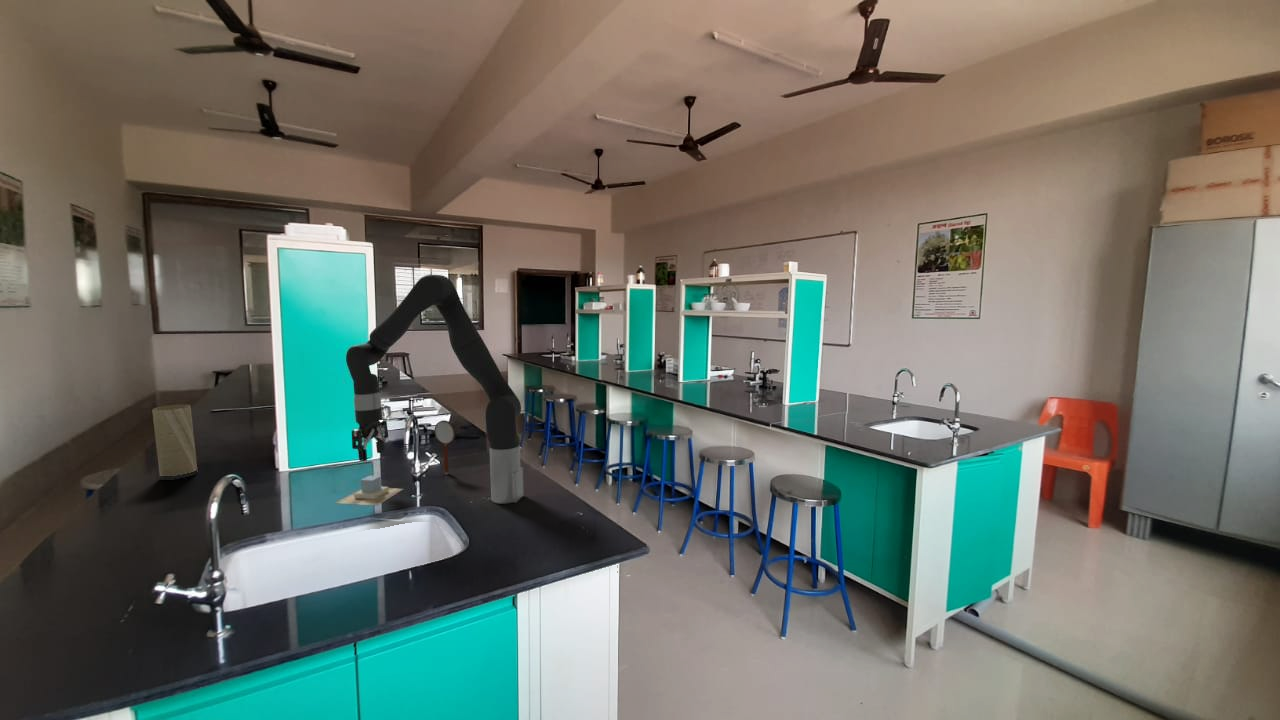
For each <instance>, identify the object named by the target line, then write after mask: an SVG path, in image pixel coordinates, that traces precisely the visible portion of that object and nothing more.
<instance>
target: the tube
mask: <svg viewBox="0 0 1280 720" xmlns="http://www.w3.org/2000/svg"><path fill="white" fill-rule="evenodd" d="M151 411H152V421H153V427H154V428H153V429H154V438H155V445H156V446H155V448H156V455H157V461H158V463H157V464H158V470H159V471H158V472H159V477H160V476H177V475H183V474H187V473H191V472H194V471H196V470H197V471H198V465H197V456H196V455H197V454H196V445H195V437H194V426H193V418H192V416H193V415H192V408H191V404H172V405H171V404H170V405H166V406H165V405H163V406H158V407H155V408H152V410H151Z"/></svg>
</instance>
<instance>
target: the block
mask: <svg viewBox="0 0 1280 720" xmlns="http://www.w3.org/2000/svg"><path fill="white" fill-rule="evenodd" d="M360 486H361V488H360V489H362V492H369V493H374V492H375V491H377V490H379V489H381V486H382V478H381V476H379V475H368V476H366V477H364V478H362V479H360Z"/></svg>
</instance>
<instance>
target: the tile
mask: <svg viewBox="0 0 1280 720" xmlns="http://www.w3.org/2000/svg"><path fill="white" fill-rule="evenodd" d="M389 488H390V487H389V486H383V485H381V489H379V490H377V491H375V492H374V493H369V492H362V490H360V489H359V490H360V491H358V490H357V491H358V492H356V491H355V492H356V493H355V492H353V493H354V498H358V499H374V500H375V499H376V498H378V497H380V496H381V495H383V494H385V493H387V492H388V491H389Z"/></svg>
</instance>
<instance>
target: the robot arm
mask: <svg viewBox="0 0 1280 720" xmlns="http://www.w3.org/2000/svg"><path fill="white" fill-rule="evenodd" d="M432 306H435V307H436V308H437V310H438V311H439V313H440V315H441V316H442V318H443V320H444V321H445V324H446V327H447V331H448V337H449V343H450V346H451V349H452V351H453V352H454V354H455V356H456V358H457V359H458V361H459V363H460V364H461V366H462V367H463V368H464V370H465V371H466V372H467V373H468V374H469V375H470V376H471V377H472V378H473V379H475V381H477V382H478V384H480V385H481V388H483V390H484V392H485V393H486V395H487V398H488V399H489V402H488V403H487V405H486V408H485V416H484V417H485V430H486V438H487V440H488V445H489V470H490V471H489V473H490V474H489V475H490V497H491V498H490V500H491V502H493V503H495V504H502V505H503V504H505V505H507V504H511V503H518V502H519V501H520V499H522V497H524V468H523V466H521V446H520V443H521V441H520V436H519V435H518V433H517V420H516V419H518V417H520V414H521V412H522V405H521V401H520V399H519V398H518V396H517V394H516V393H515V392H514V390H513V389H512V388H511V386H510V385H509V383H508V382H507V381H506V380H505V378H504V376H503V374H502V373H501V370H500V369H499V367H498V365H497V363H496V362H495V359H494V358H493V356H492V354H491V352H490V350H489V348H488V346H487V345H486V343H485V341H484V340H483V338H482V336H481V334H480V333H479V331H478V330H477V328H476V326H475V324H474V323H473V321H472V320H471V318H470V316H469V314H468V313H467V311H466V309H465V307H464V304H463V303H462V301H461V298H460V296H459V293H458V291H457V289H456V286H455V285H454V284H453V282H452V280H450V278H448V277H447V276H444V275H441V274H426V275H424V276H423V275H422V277H420V278H419V279H418V280H417V282H416V283H415V284H414V285H413V287H412V288H411V290H410V291H408V293H407V295H406V296H405V297H404V299H403V300H401V302H400V303H399V304H398V306H397V307H396V308H395V309H394V310H393V311H392V312H391V313H390V314H389V315H388V316H387V317H386V318H385V319H384V320H383V321H382V322H380V323H379V324H378V325H377V326H376V327H375V328H374V329H373V330H371V332H370V334H369V339H368V341H367V342H365V343H363V344H356V345H352V346H350V347H349V348H348V350H347V351H346V354H345V363H346V366H347V368H348V372H349V374H350V377H351V378H352V381H353V394H354V396H353V397H354V398H353V404H354V417H355V422H356V424H358V425H359V426H358V429H352V430H351V448H352V450H357V452H358V453H357V454H358V460H359V461H360V462H366V461H368V454H367V453H368V452H367V450H368V449H367V446H368V444H369V443H370V442H371V440H372V439H374V440H375V445H376V453H377V454H383V453H385V441H386V439H388V438H389V432H388V431H389V430H388V421H387V420H385V419H383V409H382V399H381V394H380V385H379V384H380V383H379V382H380V381H379V377H378V375H377V374H376V373H372V372H371V368H370V366H374V365H375V364H377V363H379V362H380V361H381V360H382V359H383V357H384V356H385V355H386V354H387V353H388V351H389V349H390V348H391V347H392V346H394V345H395V344H396V343H397V341H399V340H400V339H401V338H402V337H403V336H404V335H405V333H407V331H408V330H409V328H410V326H411V325H412V323H413V322H414V320H416V318H417V317H418V316H419V315H420V314H422V313H423V312H425V311H426V310H427V309H429V308H430V307H432Z"/></svg>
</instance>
